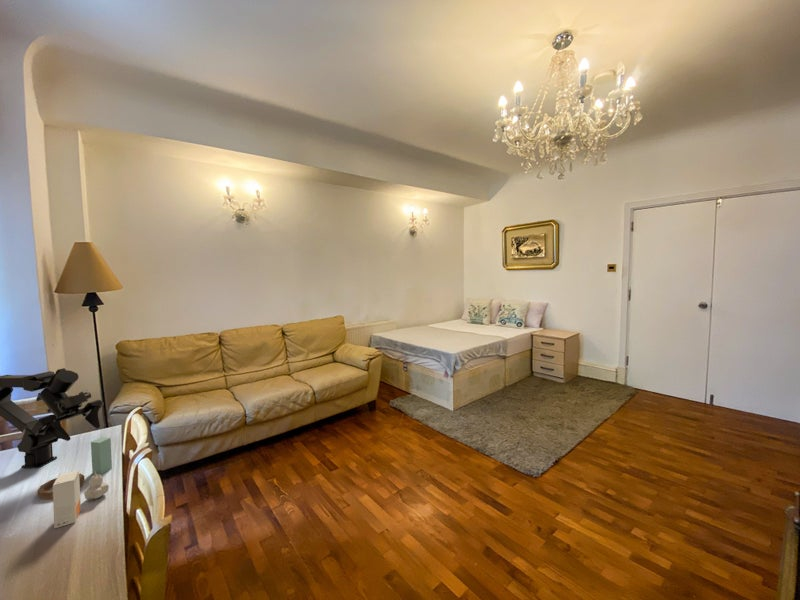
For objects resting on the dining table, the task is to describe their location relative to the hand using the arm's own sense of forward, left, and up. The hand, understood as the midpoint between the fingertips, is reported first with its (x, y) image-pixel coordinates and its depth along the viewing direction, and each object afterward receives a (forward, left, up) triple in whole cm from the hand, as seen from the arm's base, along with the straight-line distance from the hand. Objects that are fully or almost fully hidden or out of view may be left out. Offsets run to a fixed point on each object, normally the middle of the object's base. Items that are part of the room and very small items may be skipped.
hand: (84, 433), depth 115 cm
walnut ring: (+11, +3, -13) cm, 17 cm away
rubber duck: (+16, +18, -13) cm, 27 cm away
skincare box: (+25, +18, -13) cm, 34 cm away
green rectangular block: (+1, +7, -13) cm, 14 cm away
